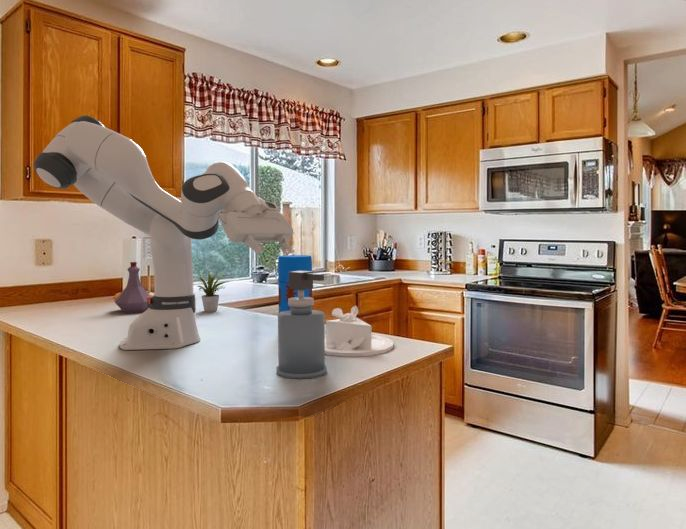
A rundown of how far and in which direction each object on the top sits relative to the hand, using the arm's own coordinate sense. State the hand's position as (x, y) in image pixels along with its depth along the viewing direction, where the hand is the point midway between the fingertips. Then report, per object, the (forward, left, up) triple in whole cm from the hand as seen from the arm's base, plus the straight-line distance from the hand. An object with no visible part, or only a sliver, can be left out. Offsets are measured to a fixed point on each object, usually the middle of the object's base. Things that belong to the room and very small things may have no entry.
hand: (274, 251), depth 125 cm
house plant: (-9, +88, -29) cm, 93 cm away
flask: (-38, +100, -29) cm, 111 cm away
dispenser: (+4, -8, -28) cm, 30 cm away
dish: (+25, +13, -29) cm, 40 cm away
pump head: (+6, -10, -11) cm, 16 cm away
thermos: (+14, +35, -29) cm, 47 cm away
